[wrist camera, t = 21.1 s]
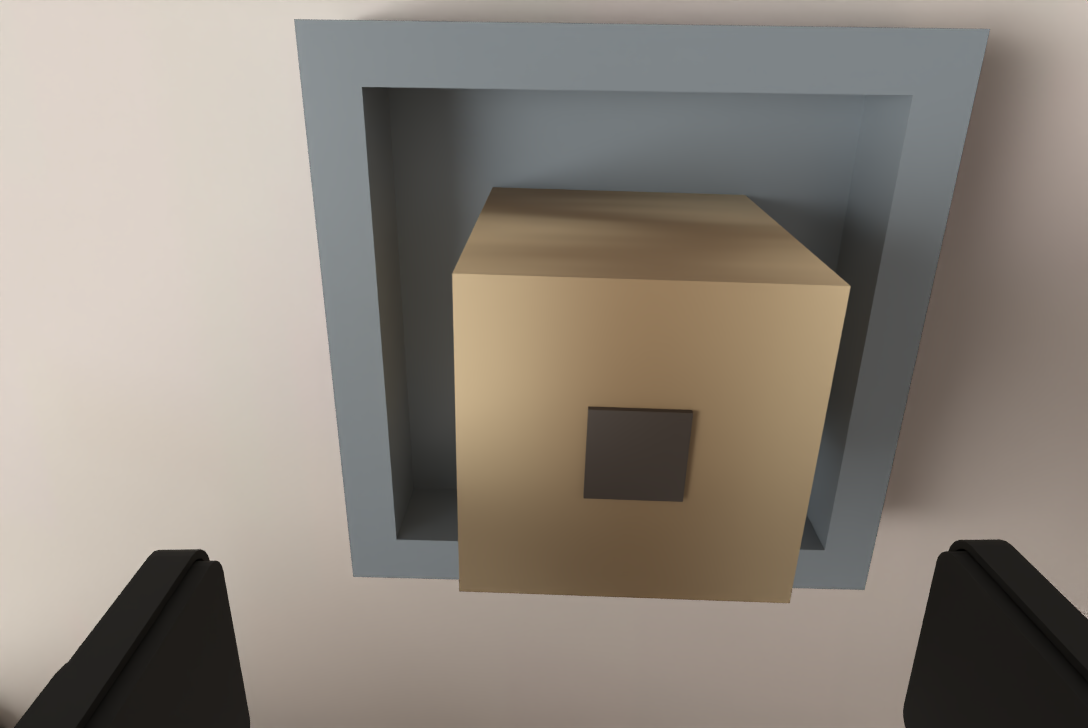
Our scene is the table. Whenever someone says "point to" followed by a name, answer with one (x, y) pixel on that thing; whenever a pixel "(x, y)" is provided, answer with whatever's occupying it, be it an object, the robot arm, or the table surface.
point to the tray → (618, 165)
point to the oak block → (638, 395)
